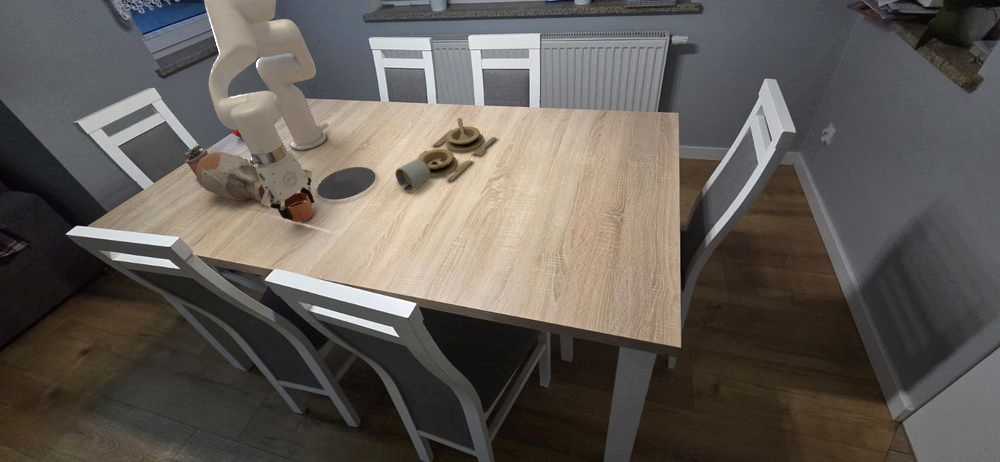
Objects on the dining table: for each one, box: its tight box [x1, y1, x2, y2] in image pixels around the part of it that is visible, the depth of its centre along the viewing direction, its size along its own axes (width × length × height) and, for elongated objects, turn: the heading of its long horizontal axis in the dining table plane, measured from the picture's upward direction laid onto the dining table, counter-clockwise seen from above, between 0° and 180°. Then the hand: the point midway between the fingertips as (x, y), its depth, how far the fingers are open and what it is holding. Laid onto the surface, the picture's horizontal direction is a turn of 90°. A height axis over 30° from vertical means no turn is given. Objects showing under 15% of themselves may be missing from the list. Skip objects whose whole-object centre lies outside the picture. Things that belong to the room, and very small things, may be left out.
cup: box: [285, 192, 315, 223], centre depth 110 cm, size 7×8×5 cm
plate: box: [316, 166, 377, 201], centre depth 124 cm, size 18×18×1 cm
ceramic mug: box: [394, 158, 431, 193], centre depth 120 cm, size 11×8×8 cm
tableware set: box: [417, 117, 497, 183], centre depth 132 cm, size 30×20×6 cm, turn 151°
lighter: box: [184, 144, 209, 176], centre depth 136 cm, size 8×3×10 cm, turn 168°
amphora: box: [195, 151, 273, 203], centre depth 122 cm, size 14×16×30 cm
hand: (299, 209), depth 110 cm, fingers closed on cup, 7 cm apart
